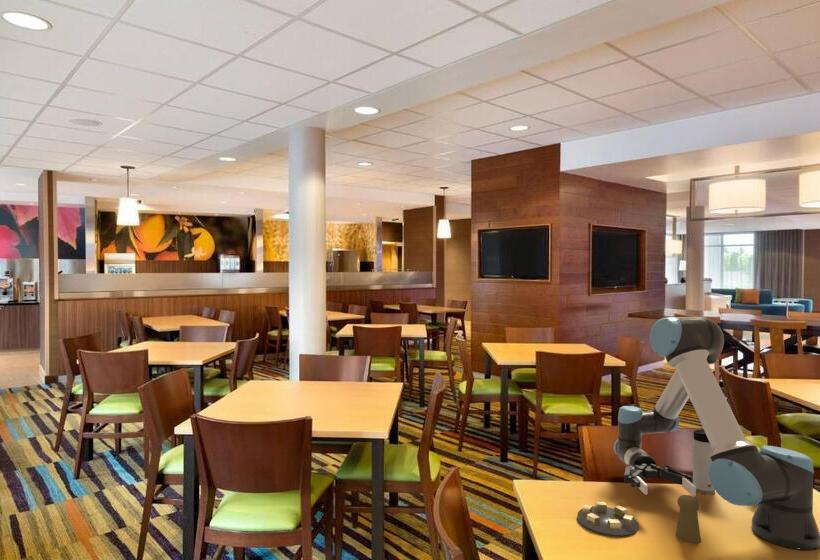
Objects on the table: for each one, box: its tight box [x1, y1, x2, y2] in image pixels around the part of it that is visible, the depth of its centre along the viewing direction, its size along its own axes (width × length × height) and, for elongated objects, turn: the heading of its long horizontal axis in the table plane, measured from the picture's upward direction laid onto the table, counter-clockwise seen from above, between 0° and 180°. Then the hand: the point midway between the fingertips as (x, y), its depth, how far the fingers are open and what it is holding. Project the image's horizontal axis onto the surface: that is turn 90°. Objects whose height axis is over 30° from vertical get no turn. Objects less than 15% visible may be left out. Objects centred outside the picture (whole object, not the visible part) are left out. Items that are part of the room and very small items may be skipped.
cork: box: [675, 494, 702, 545], centre depth 137 cm, size 6×6×11 cm
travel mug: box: [692, 428, 716, 495], centre depth 167 cm, size 6×7×20 cm
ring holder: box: [577, 501, 639, 538], centre depth 145 cm, size 16×16×3 cm
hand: (670, 490), depth 147 cm, fingers open, 13 cm apart
